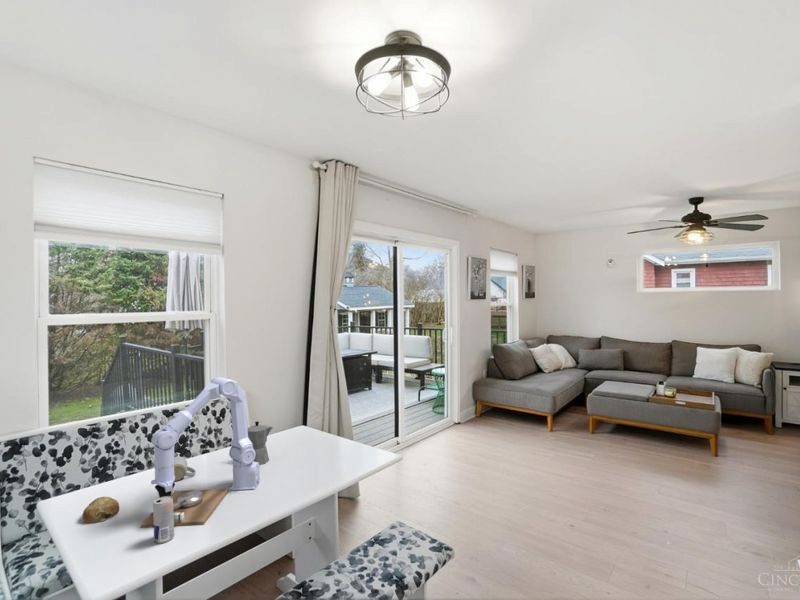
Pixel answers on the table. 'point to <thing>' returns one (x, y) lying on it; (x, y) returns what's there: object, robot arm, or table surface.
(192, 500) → the grey metal rounded piece
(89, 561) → the table surface
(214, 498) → the stand board
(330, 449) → the table surface
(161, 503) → the energy drink
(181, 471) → the ceramic mug
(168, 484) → the robot arm
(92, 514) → the bread roll
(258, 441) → the coffeepot
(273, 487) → the table surface
